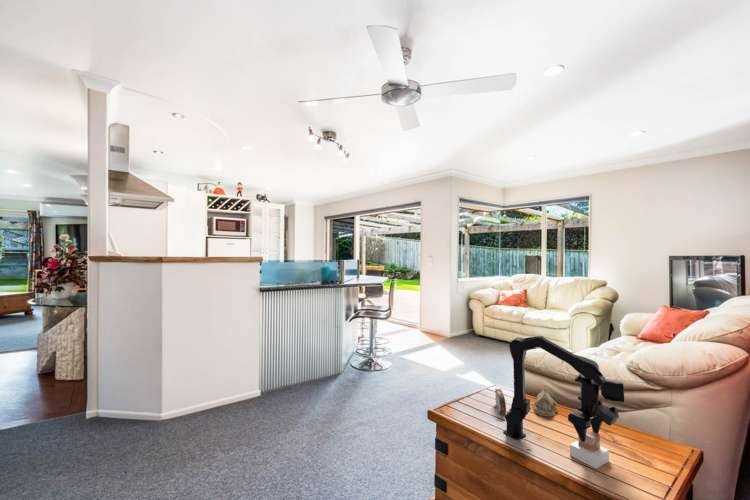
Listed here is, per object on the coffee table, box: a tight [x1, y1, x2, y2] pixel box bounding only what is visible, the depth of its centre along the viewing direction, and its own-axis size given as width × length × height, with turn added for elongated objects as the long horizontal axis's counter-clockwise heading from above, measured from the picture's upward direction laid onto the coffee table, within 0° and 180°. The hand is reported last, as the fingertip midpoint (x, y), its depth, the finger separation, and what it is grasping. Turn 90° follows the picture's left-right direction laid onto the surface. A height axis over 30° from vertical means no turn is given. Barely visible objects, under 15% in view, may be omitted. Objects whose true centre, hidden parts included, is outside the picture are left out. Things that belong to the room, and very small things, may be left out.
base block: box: [569, 440, 610, 470], centre depth 120 cm, size 9×9×4 cm
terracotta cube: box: [577, 428, 601, 452], centre depth 120 cm, size 5×5×5 cm
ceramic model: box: [532, 388, 559, 417], centre depth 158 cm, size 14×11×10 cm
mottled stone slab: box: [494, 388, 507, 415], centre depth 158 cm, size 15×3×8 cm, turn 168°
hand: (589, 438), depth 120 cm, fingers open, 9 cm apart
